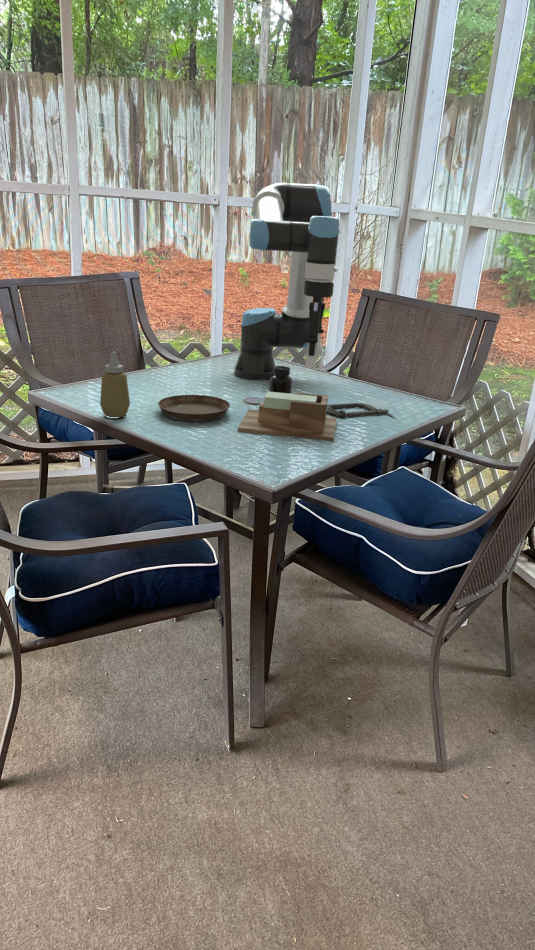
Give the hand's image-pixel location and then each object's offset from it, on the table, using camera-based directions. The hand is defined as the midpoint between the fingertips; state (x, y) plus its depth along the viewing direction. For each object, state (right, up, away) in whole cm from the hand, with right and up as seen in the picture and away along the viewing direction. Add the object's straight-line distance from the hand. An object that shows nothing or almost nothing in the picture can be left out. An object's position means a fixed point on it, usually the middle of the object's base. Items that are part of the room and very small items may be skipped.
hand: (312, 362), depth 179 cm
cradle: (-6, -17, +8) cm, 19 cm away
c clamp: (+15, -12, +24) cm, 31 cm away
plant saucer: (-33, -13, +13) cm, 38 cm away
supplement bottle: (-8, -9, +26) cm, 29 cm away
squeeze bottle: (-54, -14, +6) cm, 57 cm away
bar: (-6, -12, +6) cm, 14 cm away
